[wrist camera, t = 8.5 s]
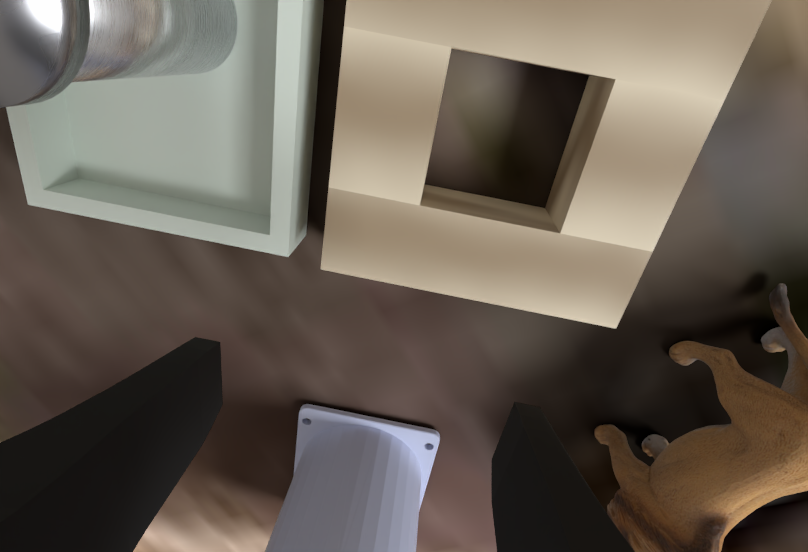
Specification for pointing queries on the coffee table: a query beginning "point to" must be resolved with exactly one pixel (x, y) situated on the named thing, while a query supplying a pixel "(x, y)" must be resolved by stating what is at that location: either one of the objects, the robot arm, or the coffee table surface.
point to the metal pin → (107, 42)
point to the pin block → (580, 164)
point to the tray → (190, 139)
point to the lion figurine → (718, 451)
